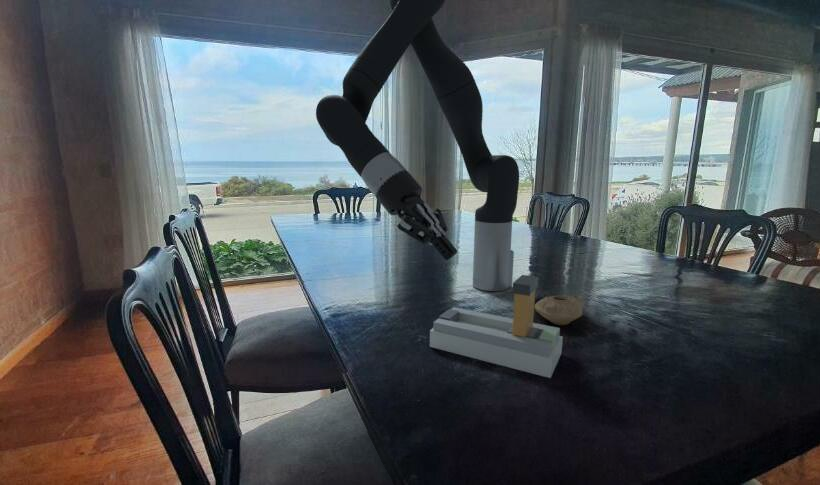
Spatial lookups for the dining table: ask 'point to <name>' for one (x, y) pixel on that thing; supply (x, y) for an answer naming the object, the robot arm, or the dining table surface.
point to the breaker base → (497, 352)
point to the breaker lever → (524, 307)
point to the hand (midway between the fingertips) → (452, 256)
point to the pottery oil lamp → (560, 308)
